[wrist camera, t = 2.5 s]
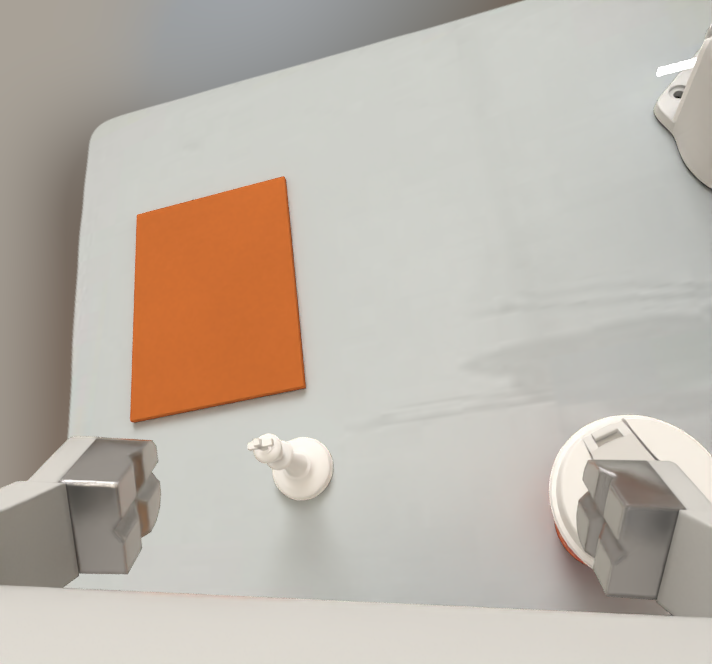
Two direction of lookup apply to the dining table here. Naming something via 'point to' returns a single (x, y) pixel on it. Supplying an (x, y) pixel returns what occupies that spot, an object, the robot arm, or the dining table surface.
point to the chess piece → (295, 464)
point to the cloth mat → (215, 303)
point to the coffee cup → (618, 442)
